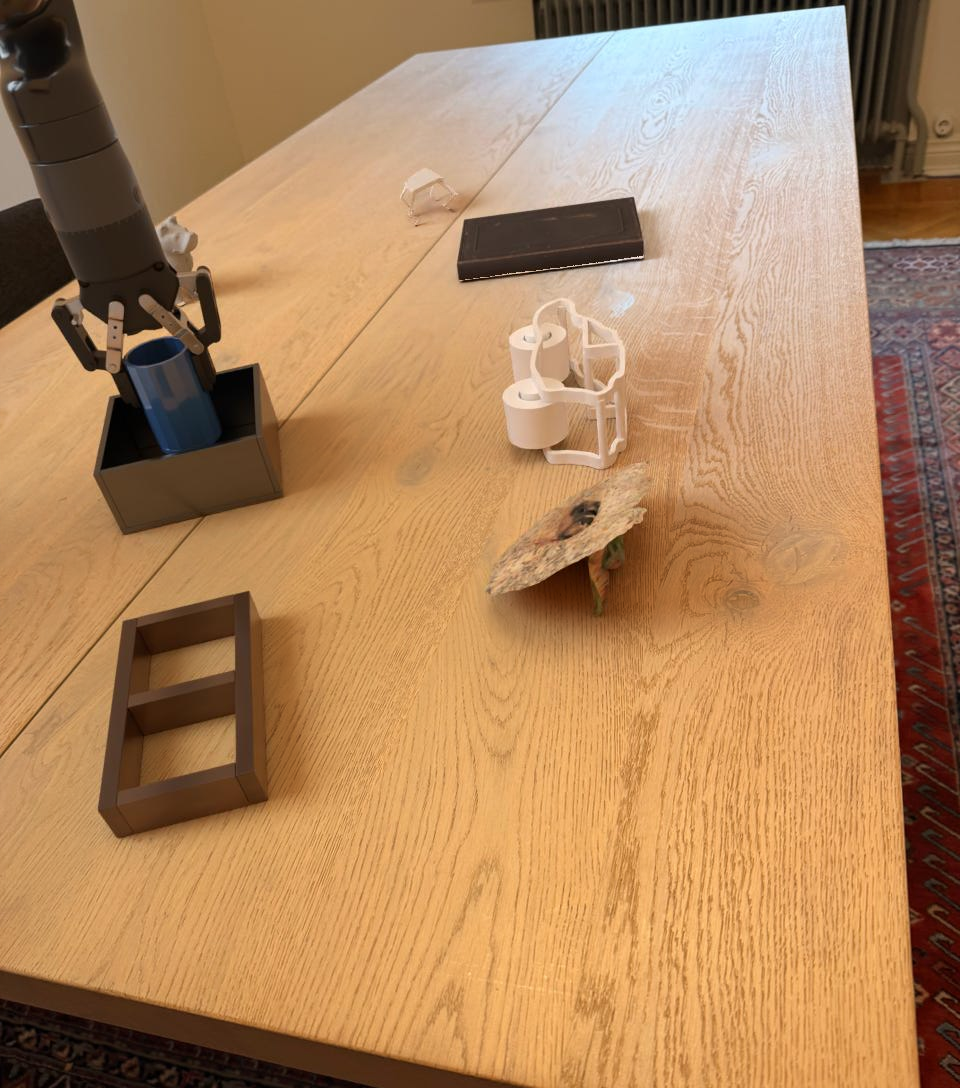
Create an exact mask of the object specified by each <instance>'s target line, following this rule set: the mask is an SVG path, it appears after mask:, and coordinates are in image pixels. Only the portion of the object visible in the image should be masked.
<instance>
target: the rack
mask: <svg viewBox="0 0 960 1088" xmlns="http://www.w3.org/2000/svg"><path fill="white" fill-rule="evenodd" d="M261 619H262V618H261V616H260V613H259V610H258V608H257V606H256V604H255V600H254V599H253V595H252V594H251V591H249V590H246V591H242V592H237V593H233V594H228V595H224V596H220V597H216V598H212V599H207V600H203V601H199V602H195V603H191V604H186V605H182V606H179V607H175V608H170V609H166V610H165V609H164V610H162V611H158V612H153V613H149V614H145V615H141V616H138V617H134V618H128V619H125V620H122V623H121V631H120V632H121V633H120V637H119V638H120V639H119V646H118V652H117V653H118V654H117V659H116V660H117V661H116V668H115V677H114V683H113V691H112V698H111V706H110V712H109V713H110V714H109V721H108V728H107V736H106V742H105V743H106V746H105V752H104V760H103V767H102V774H101V782H100V789H99V796H98V805H97V812H98V813H99V815H100V816H101V818H102V819H103V821H104V822H105V824H106V825H107V826H108V828H109V829H110V831H111V832H112V834H113V835H114V837H115V838H117V839H119V838H122V837H126V836H130V835H134V834H139V833H143V832H147V831H151V830H154V829H159V828H163V827H167V826H170V825H171V826H172V825H174V824H178V823H183V822H187V821H190V820H194V819H198V818H199V819H200V818H203V817H207V816H210V815H214V814H217V813H223V812H226V811H230V810H235V809H237V808H243V807H247V806H250V805H253V804H257V803H261V802H265V801H268V796H269V795H268V773H267V772H268V771H267V770H268V769H267V746H266V745H267V744H266V721H265V719H266V718H265V696H264V695H265V694H264V693H265V691H264V670H263V669H264V668H263V646H262V645H263V643H262V640H263V639H262V620H261ZM233 635H234V669H233V670H229V671H224V672H221V673H216V674H213V675H208V676H203V677H200V678H196V679H191V680H187V681H184V682H179V683H176V684H171V685H166V686H164V687H159V688H154V689H151V690H149V681H150V671H151V660H152V655H156V654H159V653H163V652H167V651H168V652H169V651H172V650H176V649H180V648H183V647H184V648H185V647H188V646H192V645H196V644H197V645H198V644H201V643H204V642H208V641H209V642H210V641H213V640H217V639H221V638H225V637H229V636H233ZM232 714H235V716H234V717H235V718H234V720H235V762H231V763H227V764H223V765H219V766H215V767H210V768H207V769H203V770H198V771H194V772H191V773H187V774H183V775H179V776H175V777H171V778H167V779H162V780H158V781H155V782H154V781H153V782H151V783H146V784H142V785H140V775H141V768H142V767H141V766H142V757H143V756H142V755H143V744H144V736H147V735H151V734H155V733H160V732H164V731H167V730H172V729H176V728H179V727H183V726H188V725H192V724H196V723H199V722H204V721H208V720H212V719H216V718H220V717H224V716H229V715H232Z"/></svg>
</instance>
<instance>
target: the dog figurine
mask: <svg viewBox="0 0 960 1088" xmlns="http://www.w3.org/2000/svg"><path fill="white" fill-rule="evenodd" d="M155 230H156V232H157V235H158V238H159V241H160V243H161V246H162V249H163V251H164V254H165V257H166V259H167V261H168V262H169V264H170V265H171V266H172V267H173V268H174V269H175V270H176V271H177V272H178V273H179V272H190V271H193V268H194V258H193V257H194V256H192V254H191V252H193V251H194V250H195V249H196V248H197V247H198V244H199V235H198V233H196V232H195V231H189V229H188V228H187V227H186V226H182V225H180V224H179V223H178V220H177V216H176V215H174V214H172V215H169V216H168V217H167V218H166V220H165V221H163V222H161V223H160V224H159V225H157V227H156V228H155ZM181 288H182V287H179V291H178V294H177V297H176V301H175V303H176V304H179V303H181V302H183V301H184V299H183V295H182V289H181Z"/></svg>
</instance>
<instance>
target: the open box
mask: <svg viewBox="0 0 960 1088" xmlns="http://www.w3.org/2000/svg"><path fill="white" fill-rule="evenodd" d="M208 393H209V395H210V398H211V401H212V403H213V406H214V409H215V411H216V414H217V417H218V419H219V422H220V426H221V429H222V433H221V436H220V437H219V439H218V440H217V441H216V442H215V443H213V444H212V445H208V446H203V447H199V448H195V449H190V450H186V451H182V452H178V453H173V454H166V453H165V452H163V451H162V450H161V448H160V445H159V444H158V442H157V440H156V438H155V435H154V433H153V431H152V428H151V426H150V424H149V421H148V419H147V417H146V415H145V412H144V410H143V408H142V407H139V408H135V409H134V408H133V406H132V404H131V403H129V404H126V403H125V402H124V401H123V400H122V398H121V395H120V393H119V394H115V395H110V396H108V402H107V406H106V410H105V415H104V420H103V426H102V429H101V435H100V440H99V444H98V450H97V455H96V459H95V464H94V468H93V474H92V476H93V478H94V480H95V482H96V485H97V486H98V488H99V490H100V492H101V494H102V496H103V498H104V500H105V502H106V504H107V506H108V508H109V510H110V512H111V514H112V516H113V518H114V520H115V522H116V524H117V526H118V528H119V530H120V532H121V533H122V535H123V536H124V535H128V534H132V533H136V532H137V533H138V532H141V531H146V530H150V529H154V528H158V527H162V526H166V525H167V526H168V525H170V524H175V523H179V522H183V521H188V520H191V519H196V518H201V517H204V516H209V515H213V514H218V513H221V512H226V511H230V510H234V509H235V510H236V509H239V508H243V507H247V506H251V505H256V504H259V502H260V503H263V502H264V503H265V502H269V501H273V500H277V499H280V498H284V485H283V473H282V459H281V448H280V436H279V435H280V433H279V424H278V423H279V422H278V418H277V414H276V411H275V408H274V405H273V402H272V399H271V396H270V392H269V390H268V387H267V383H266V380H265V377H264V375H263V372H262V369H261V365H260V362H255V363H250V364H246V365H241V366H237V367H233V368H228V369H224V370H220V371H216V383H214V384H213V390H211V391H208Z"/></svg>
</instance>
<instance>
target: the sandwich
mask: <svg viewBox="0 0 960 1088" xmlns="http://www.w3.org/2000/svg"><path fill="white" fill-rule="evenodd" d="M649 463H650V462H649V461H648V460H647V461H646V460H645V461H638V462H635V463H631V464H629V465H626V466H623V467H622V468H620V469H619V470H617V471H616V472H614V473H612V474H610V475H608V476H606V477H605V478H603V479H601V480H600V481H598V482H596V483H594V484H592V485H590V486H589V487H586V488H584V489H582V490H580V491H578V492H576V493H574V494H572V495H571V496H569V498H567V499H566V500H564V501H563V502H561V503H560V504H558V505H557V506H555V507H554V508H553V509H551V510H550V511H548V512H546V513H545V514H544V515H543V516H542V517H541V518H539V519H538V520H537V521H536V522H534V524H532V525H531V527H529V528H528V530H526V531H524V533H523V534H521V535H520V536H519V537H517V539H515V540H514V541H513V542H512V543H511V544H510V545H509V546H508V547H507V548H506V549H505V550H503V552H502V553H501V554H500V555H499V557H498V558H497V559H496V561H495V563H494V564H493V567H492V571H491V574H490V579H489V582H488V584H487V585H486V588H485V593H488V595H490V596H491V597H496V596H497V595H502V594H504V593H508V592H513V591H521V590H523V589H525V588H529V587H531V586H534V585H537V584H540V583H541V582H543V581H544V580H546V579H548V578H549V577H551V576H552V575H554V574H555V573H557V572H559V571H561V570H562V569H564V568H567V567H568V566H570V565H572V564H574V563H577V562H579V561H580V560H583V559H584V560H585V562H586V563H587V566H588V573H589V580H590V581H589V582H590V587H591V591H592V599H593V602H594V611H593V615H594V617H599V616H600V615H601V613H602V612H603V610H604V608H605V606H606V597H607V592H608V589H609V586H610V585H609V584H610V572H609V571H608V570H617V569H619V568H621V567H622V566H623V564H624V563H625V561H626V549H625V546H624V536H623V535H624V534H625V533H627V531H628V530H631V529H632V528H633V526H634V524H635V525H636V524H641V523H642V522H643V521H644V515H645V513H646V512H648V511H649V510H647V509H646V508H645V507H641V506H637V505H638V504H639V503H640V502H641V501H642V499H643V498H644V497H645V496H646V494H648V493H649V492H650V490H651V488H653V487H654V483H655V478H654V477H653V476H652V475H649V474H647V473H646V471H647V469H648V467H649V466H650V464H649Z"/></svg>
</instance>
